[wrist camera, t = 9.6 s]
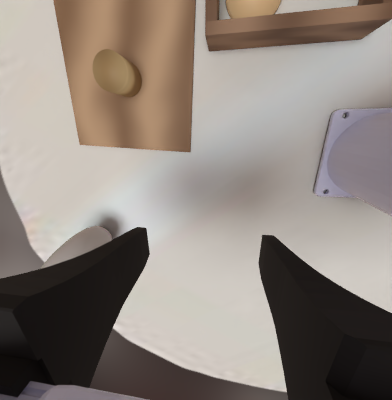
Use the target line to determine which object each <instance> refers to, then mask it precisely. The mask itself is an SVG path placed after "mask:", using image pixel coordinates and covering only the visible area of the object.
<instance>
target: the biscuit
mask: <svg viewBox="0 0 392 400" xmlns="http://www.w3.org/2000/svg"><path fill="white" fill-rule="evenodd" d="M280 2H281V0H226V7H227V11H228V14H229V16H230V18H231V19H235V18H245V17H255V16H264V15H274V14H275V12H276V10H277V9H278V7H279V4H280Z"/></svg>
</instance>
